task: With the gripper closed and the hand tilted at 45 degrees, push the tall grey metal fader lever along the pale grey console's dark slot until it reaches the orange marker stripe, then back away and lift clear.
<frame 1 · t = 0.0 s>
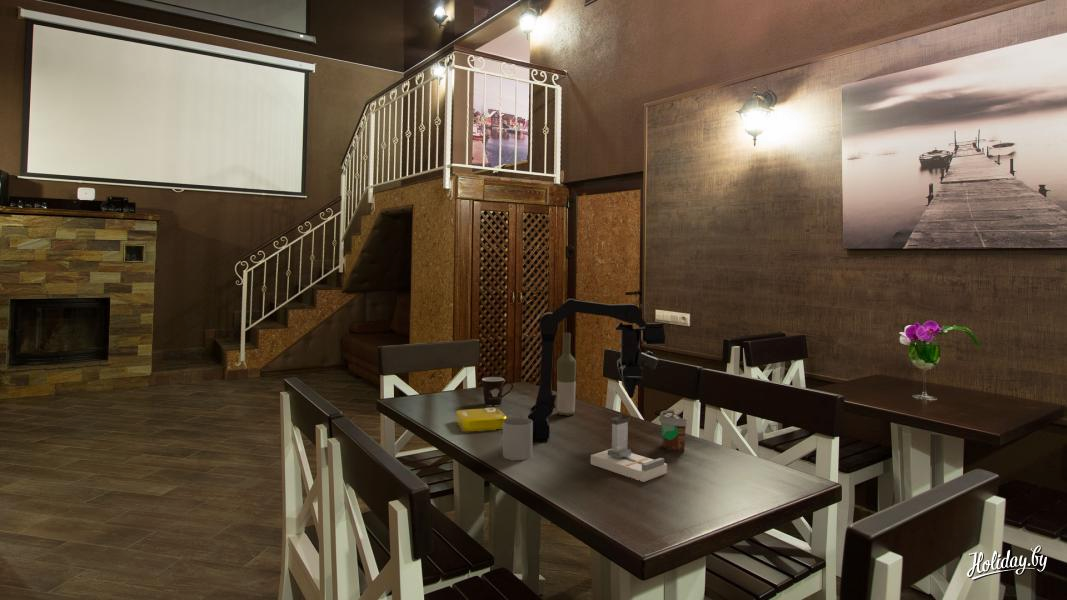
hand: (629, 394, 185), 15 cm above the table, tool pointing down, fingers open, 9 cm apart
console: (627, 468, 160), on the table
fader: (619, 436, 162), point 8 cm above the table, slide at 0.0 cm
food container: (669, 447, 180), on the table
coffee mug: (496, 405, 233), on the table
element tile: (480, 426, 203), on the table
bottle: (565, 414, 218), on the table
cup: (517, 456, 170), on the table
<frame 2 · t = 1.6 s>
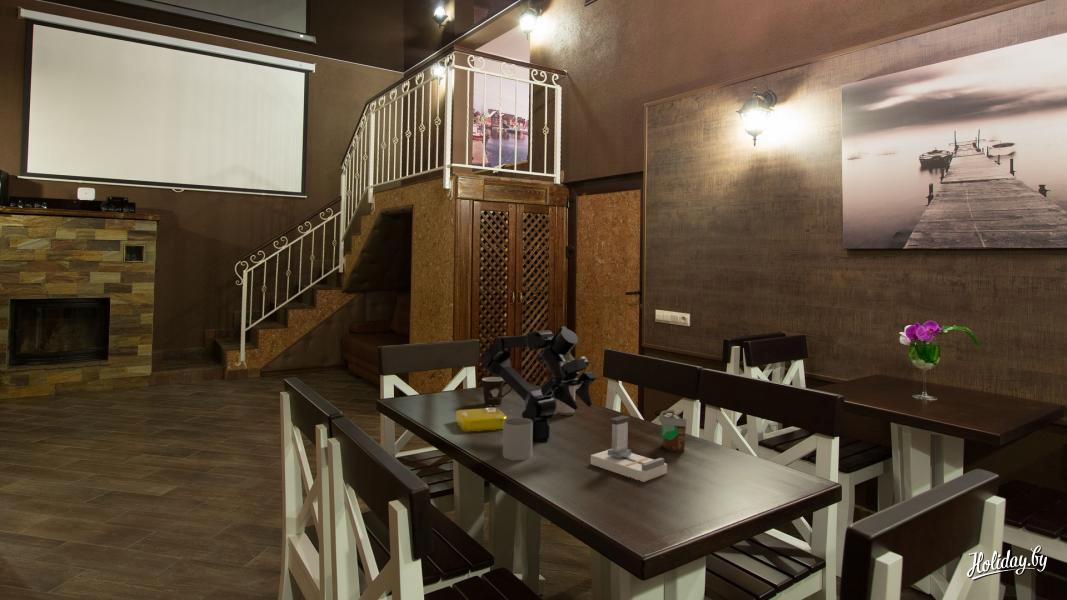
hand: (583, 407, 172), 14 cm above the table, tool tilted 45°, fingers open, 6 cm apart
nothing on the table moved.
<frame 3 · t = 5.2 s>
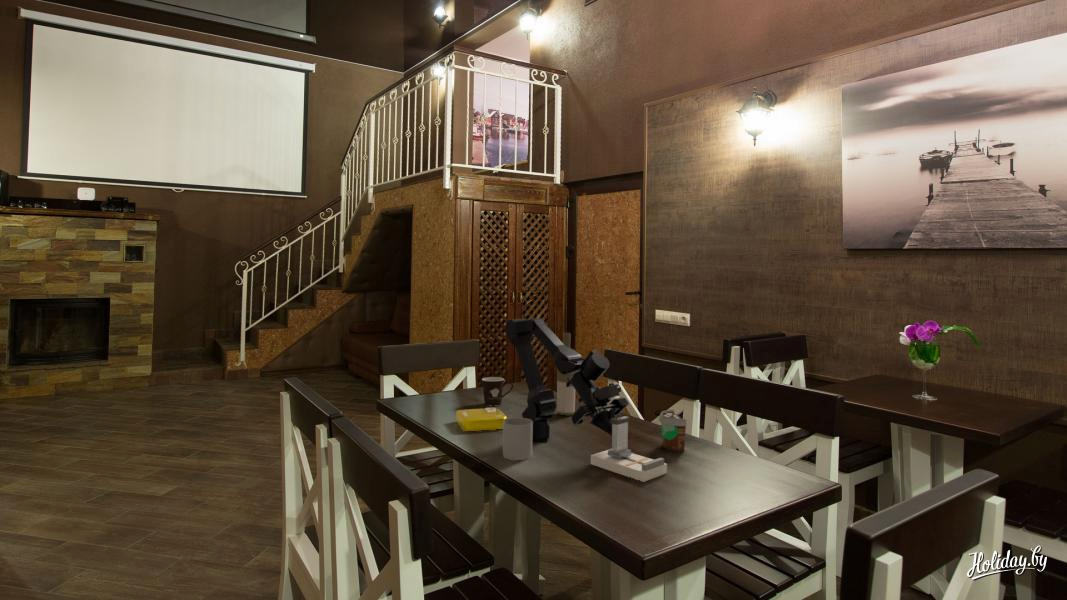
hand: (616, 436, 163), 8 cm above the table, tool tilted 45°, fingers closed, pressing on fader
fader: (619, 436, 162), point 8 cm above the table, slide at 0.1 cm, touching gripper
everything else where it was.
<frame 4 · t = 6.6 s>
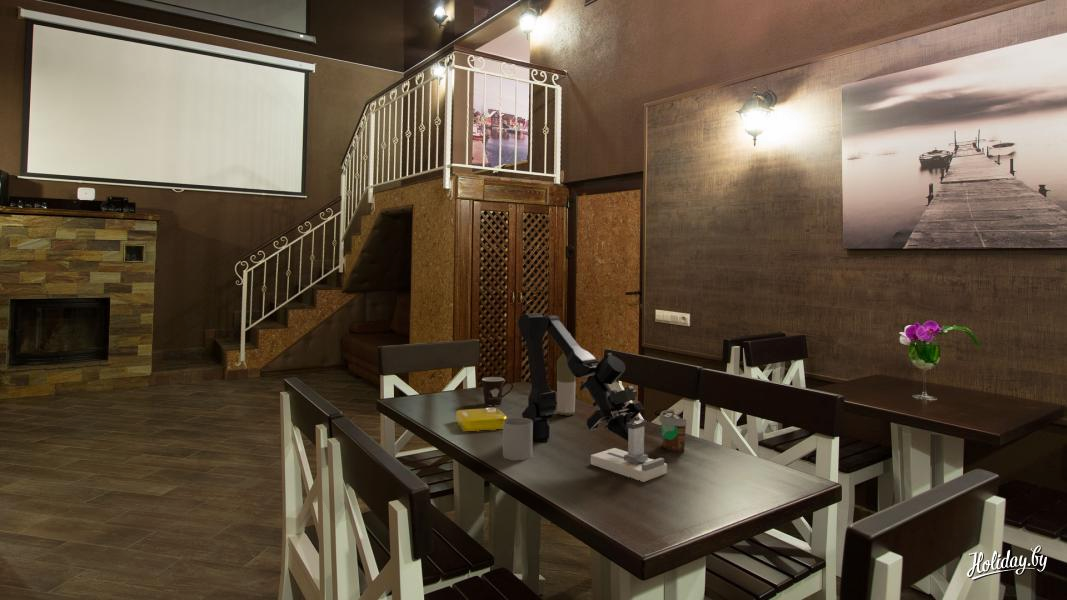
hand: (632, 441, 159), 8 cm above the table, tool tilted 45°, fingers closed
fader: (636, 441, 158), point 8 cm above the table, slide at 5.6 cm
everything else where it was.
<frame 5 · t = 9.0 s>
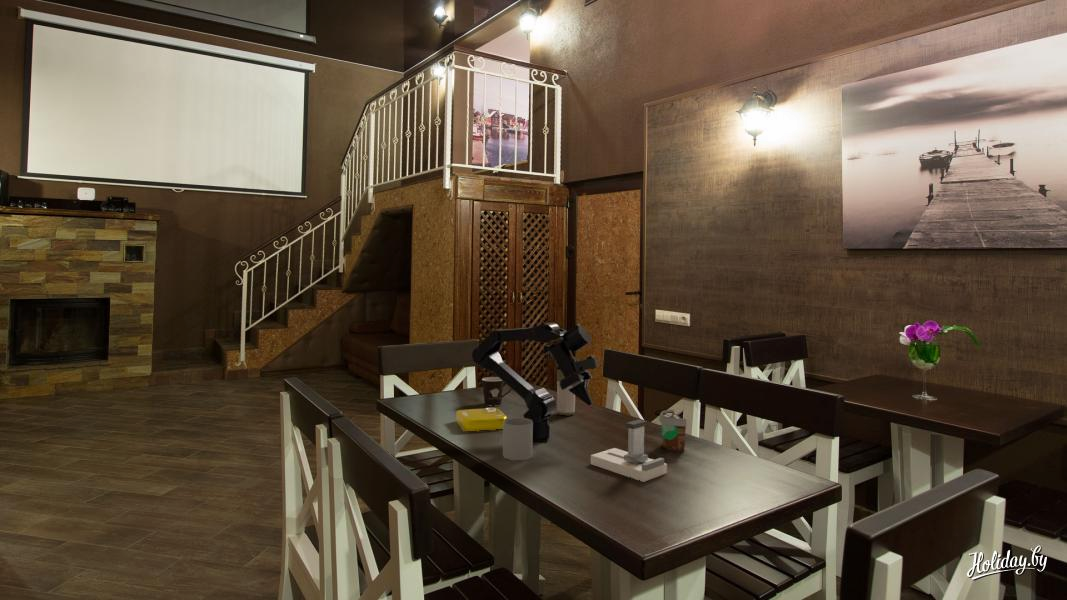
hand: (590, 404, 178), 13 cm above the table, tool tilted 35°, fingers closed
nothing on the table moved.
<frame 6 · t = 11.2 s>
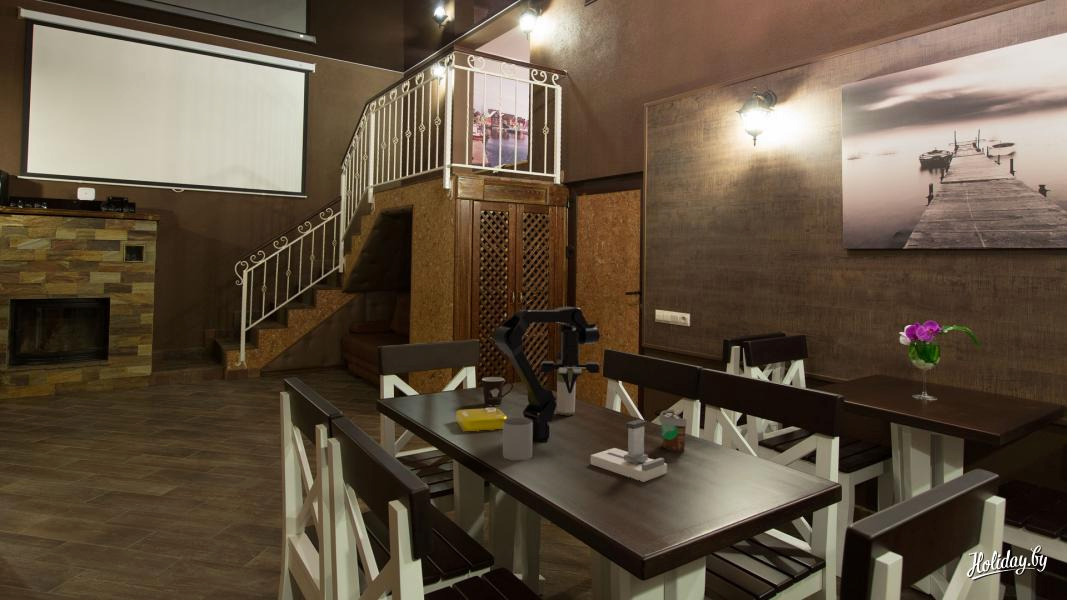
hand: (569, 393, 194), 13 cm above the table, tool pointing down, fingers closed
nothing on the table moved.
at the end: fader slide at 5.6 cm; cup moved 0.2 cm from its start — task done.
